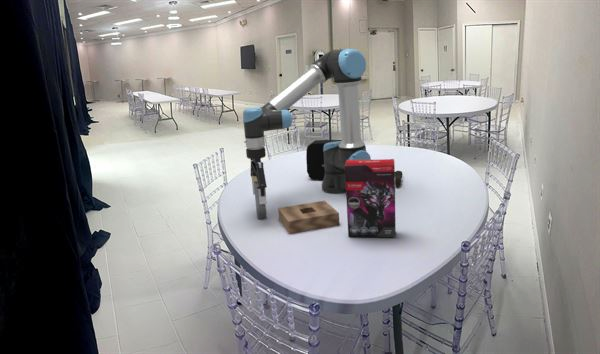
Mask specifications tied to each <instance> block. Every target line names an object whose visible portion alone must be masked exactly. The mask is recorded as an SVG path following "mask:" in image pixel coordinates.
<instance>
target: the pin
mask: <svg viewBox="0 0 600 354" xmlns="http://www.w3.org/2000/svg"><path fill="white" fill-rule="evenodd" d="M252 181H254V191H255V194H254V199H255V210H256V211H255V212H256V219H257V220H260V221H263V220H266V219H267V218H268V217H267V206H266V204H267V203H266V204H260V202H259V190H258V189H257V187H259V185H258V180H257V176H256V175H253V176H252V178H251V182H252ZM262 185H263V184H262Z"/></svg>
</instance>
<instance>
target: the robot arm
mask: <svg viewBox="0 0 600 354" xmlns="http://www.w3.org/2000/svg"><path fill="white" fill-rule="evenodd" d="M366 68H367V61H366V58H365V56H364V55H363V53H362V52H360V50H358V49H355V48H345V49H341V48H340V49H332V50H329V51H327V52H326V53H325V54H323V55H321V56H320V57H319V58H318V59H317V60H315V61H313V63H311V64H310V66H309V69H308V70H306V71H305V72H304V73H302V75H300V76H299V77H298V78H297V79H295V80H294V81H293V82H292V83H290V84H289V85H288V86H286V88H284V89H283V90H281V92H280V93H278V94H277V95H276V96H275V97H273V98H272V99H271V100H269V101H268V102H267V103H265V104H264V105H263V106H260V107H247V108H245V109H244V110H243V112H242V118H243V119H242V122H243V128H244V140H243V143H244V144H245V147H246V150H245V151H246V158H247V159H249V160H250V177H251V179H252V176H253V175H256V176H257V180H258V185H259V187H257V189H258V190H259V202H260V204H267V202H268V201H267V192H266V188H267V187H268V186H267V180H266V175H265V174H266V173H265V168H264V162H263V161H262V160H261V159H263V158H265V157H266V147H265V146H266V141H265V133H264V132H268V131H277V130H285V129H288V128H291V126H292V123H293V117H292V113H291V111H290V110H289V109H290V108H291V107H292V106H293V105H294V104H297V102H298V101H300V100H301V99H302V98H303V97H305V96H306V95H307V94H308V93H310V92H311V91H312V90H313V89H314V88H316V87H317V86H318V85H320V84H325V82H327V81H329V80H330V79H333V84H334V85H335V86H336V87H337V91H338V105H339V107H338V108H339V123H340V133H341V134H340V136H341V137H340V139H341V140H342V141H336V142H329V143H326V144H325V145H324V148H323V152H324V169H325V175H324V178H323V181H321V191H323V192H324V193H329V194H342V193H343V194H344V193H345V194H346V178H345V164H346V160H372V159H371V157H372V156H371V155H370V153H369V152H368V151H367V150H366V151H365V146H366V143H365V142H364V141H363V140H362V131H361V113H360V112H361V111H360V110H361V109H360V93H359V85H360V83H361V82H362V76H363V75H364V74H365V72H366ZM262 184H263V185H262ZM251 185H252V195H254V196H255V191H254V181H252V180H251Z"/></svg>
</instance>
